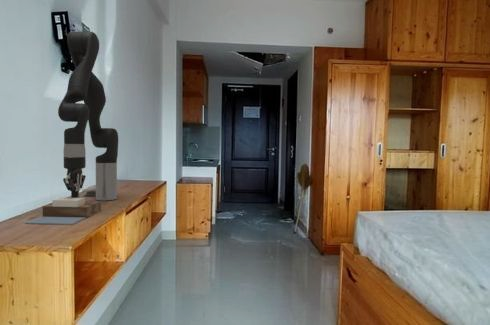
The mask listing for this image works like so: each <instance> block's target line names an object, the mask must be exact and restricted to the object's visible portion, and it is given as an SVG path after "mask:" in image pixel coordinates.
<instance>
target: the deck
mask: <svg viewBox="0 0 490 325" xmlns="http://www.w3.org/2000/svg"><path fill="white" fill-rule="evenodd" d="M101 204H102V203H101V201H86V200H85V204H84V205H81V206H79V207H53V205H52V203H49V204H46V205H43V206H42V217H85V218H86V219H88V218H90V217H92V215H93V216H95V215H96V214H98V213H100V212H101V209H102V208H101V207H102V206H101ZM94 214H95V215H94Z"/></svg>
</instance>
